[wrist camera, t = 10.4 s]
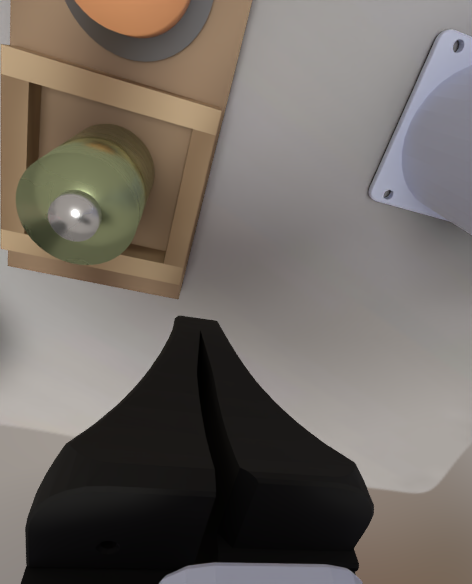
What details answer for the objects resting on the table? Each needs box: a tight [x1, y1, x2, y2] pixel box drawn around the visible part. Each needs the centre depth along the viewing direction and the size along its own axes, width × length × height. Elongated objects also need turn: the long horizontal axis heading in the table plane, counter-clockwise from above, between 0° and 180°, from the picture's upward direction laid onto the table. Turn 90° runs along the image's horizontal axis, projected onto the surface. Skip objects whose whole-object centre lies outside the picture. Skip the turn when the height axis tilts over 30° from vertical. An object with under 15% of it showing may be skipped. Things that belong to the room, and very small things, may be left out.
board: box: [1, 0, 252, 299], centre depth 17 cm, size 9×18×3 cm, turn 164°
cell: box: [16, 124, 155, 265], centre depth 16 cm, size 4×4×7 cm
